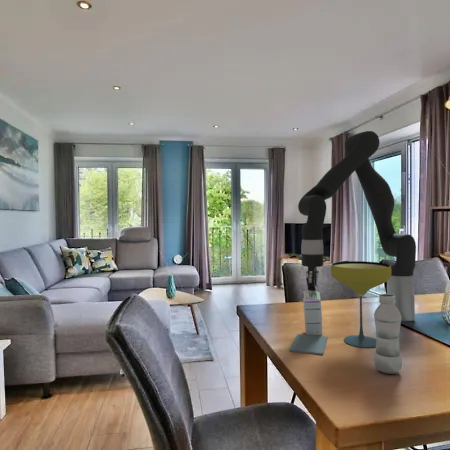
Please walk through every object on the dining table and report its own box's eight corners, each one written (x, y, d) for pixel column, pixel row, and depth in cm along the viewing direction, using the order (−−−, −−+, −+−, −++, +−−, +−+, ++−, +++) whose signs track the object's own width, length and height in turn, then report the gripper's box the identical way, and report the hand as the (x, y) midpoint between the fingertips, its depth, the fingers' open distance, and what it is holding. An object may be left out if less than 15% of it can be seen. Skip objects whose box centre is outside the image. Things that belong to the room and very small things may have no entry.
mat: (327, 338, 117) (327, 336, 117) (323, 355, 103) (322, 353, 103) (297, 335, 120) (297, 333, 120) (289, 351, 106) (289, 349, 106)
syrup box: (322, 335, 119) (321, 299, 114) (305, 335, 120) (303, 299, 115) (321, 325, 124) (320, 289, 119) (304, 325, 125) (302, 290, 120)
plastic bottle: (369, 367, 94) (368, 293, 94) (393, 365, 95) (392, 292, 94) (382, 378, 88) (380, 298, 87) (407, 376, 88) (406, 297, 88)
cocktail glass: (370, 330, 123) (369, 260, 123) (405, 349, 105) (404, 267, 105) (322, 334, 120) (321, 262, 120) (350, 355, 102) (348, 270, 102)
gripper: (321, 254, 115) (321, 306, 115) (325, 251, 127) (325, 298, 128) (298, 254, 118) (298, 305, 118) (304, 250, 130) (304, 297, 130)
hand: (312, 301), depth 123 cm, fingers closed
